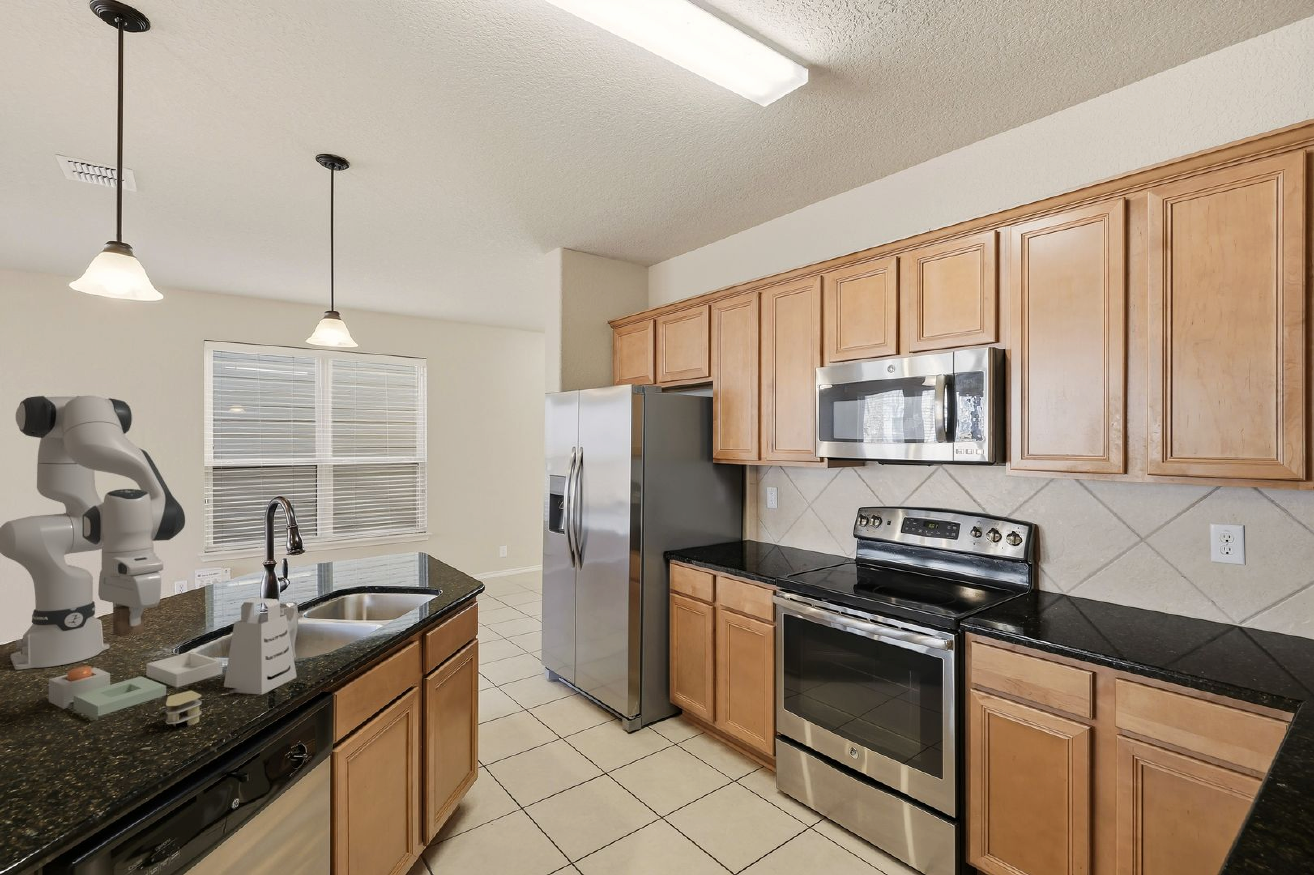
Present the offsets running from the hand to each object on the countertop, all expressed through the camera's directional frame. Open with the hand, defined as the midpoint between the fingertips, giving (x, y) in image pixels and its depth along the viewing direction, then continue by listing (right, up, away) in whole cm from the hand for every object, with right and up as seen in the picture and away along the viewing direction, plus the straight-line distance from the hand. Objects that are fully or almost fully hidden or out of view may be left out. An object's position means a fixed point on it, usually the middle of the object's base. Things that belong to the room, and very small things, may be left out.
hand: (128, 623), depth 136 cm
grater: (+24, -18, +10) cm, 31 cm away
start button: (-13, -14, +2) cm, 19 cm away
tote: (+3, -17, +13) cm, 22 cm away
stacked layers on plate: (+20, -18, -11) cm, 29 cm away
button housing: (-13, -18, +2) cm, 21 cm away
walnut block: (0, -2, 0) cm, 2 cm away
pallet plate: (-1, -17, -1) cm, 17 cm away
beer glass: (+20, -18, +24) cm, 36 cm away
